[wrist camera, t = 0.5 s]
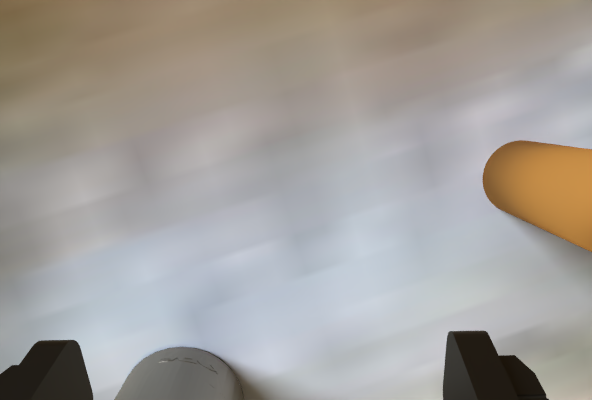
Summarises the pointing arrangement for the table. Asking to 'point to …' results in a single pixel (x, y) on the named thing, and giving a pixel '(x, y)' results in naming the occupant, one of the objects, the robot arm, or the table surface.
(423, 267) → the table surface
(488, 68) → the table surface
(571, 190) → the orange capsule with nub
